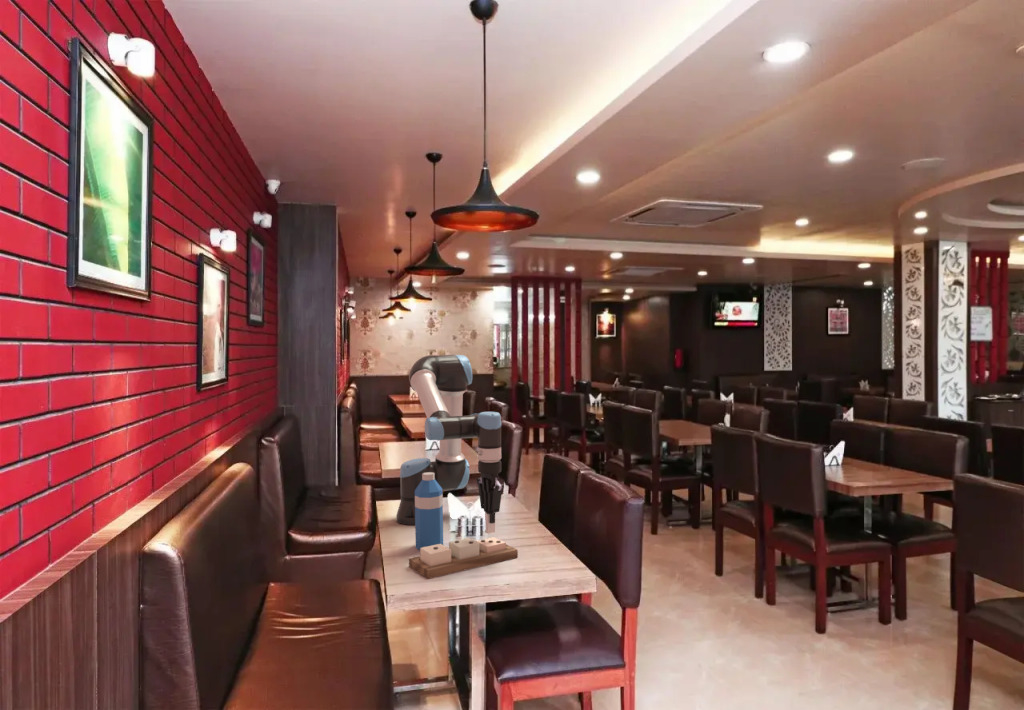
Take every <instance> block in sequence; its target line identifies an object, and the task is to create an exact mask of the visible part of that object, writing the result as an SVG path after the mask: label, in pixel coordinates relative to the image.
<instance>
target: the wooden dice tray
mask: <svg viewBox="0 0 1024 710" xmlns="http://www.w3.org/2000/svg"><path fill="white" fill-rule="evenodd" d="M518 557H519V555H518V549H517V548H514V547H513V546H511V545H508V544H506V549H505V550H500V551H496V552H492V553H485V552H483V551H481V550H479V556H474V557H470V558H466V559H461V560H459V559H457V558H455V557H453V556H451V562H448V563H444V564H440V565H435V566H431V567H430V566H428V565H427V564H425V563H423V562H422V561H421V559H420V555H419V556H414V557H409V558H408V567H409V568H411V569H412V570H413V571H415V572H416V573H418V574H420V575H421V576H423V577H425V578H426V579H428V580H429V579H434V578H438V577H442V576H446V575H450V574H454V573H459V572H463V571H465V570H466V571H467V570H470V569H475V568H478V567H479V568H480V567H484V566H488V565H492V564H495V563H500V562H504V561H507V560H508V561H509V560H512V559H515V558H518ZM483 565H484V566H483Z"/></svg>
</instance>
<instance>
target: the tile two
mask: <svg viewBox="0 0 1024 710" xmlns="http://www.w3.org/2000/svg"><path fill="white" fill-rule="evenodd" d="M448 548H449V549H451V556H453V557H455V558H457V559H459V560H461V559H466V558H470V557H474V556H479V543H477V542H476V540H473V539H472V538H470V537H466V538H461V539H456V540H451V541H448Z"/></svg>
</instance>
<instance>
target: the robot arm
mask: <svg viewBox="0 0 1024 710" xmlns="http://www.w3.org/2000/svg"><path fill="white" fill-rule="evenodd" d="M408 380H409V384H410V386H411V388H412V390H414V391H415V392H416V394H417V397H418V399H419V402H420V405H421V407H422V408H423V410H424V413H425V416H426V419H425V420H424V421H425V422H424V433H425V434H424V435H425V438H426V439H427V440H429V441H439V448H438V449H439V452H438V453H436V455H435V460H434V461H431V459H429V458H428V457H419V458H413V459H409V460H406V461H405V462H402V464H401V466H400V469H399V471H400V472H399V478H400V479H399V480H400V502H399V506H398V507H397V508H398V509H397V512H396V515H395V516H396V523H399V524H401V525H409V526H415V489H416V488H417V487H418V485H419V484H420V482H421V481H422V474H423V473H427V472H432V473H435V480H436V481H437V483H438V484H439V485H440V486H441V488H442V492H443V491H444V492H445V491H455V490H460V489H461V490H462V489H464V488H465V487H466V486H467V485H468V482H469V479H470V472H471V471H470V463H469V460H467V459H466V456H465V455H464V453H463V452H462V439H473V438H474V439H475V438H477V457H478V458H477V459H478V462H477V471H478V473H479V474H480V477H478V478H476V483H477V487H478V494H479V495H478V496H479V501H480V508H481V509H483V512H484V520H485V521H484V523H485V525H484V526H485V527H484V528H485V529H484V530H485V533H486V534H491V533H495V532H496V524H495V523H496V513H499V512H500V510H501V509H500V508H501V502H502V496H503V495H502V494H503V490H504V488H505V486H504V484H503V483H502V484H501V483H500V477H499V473H501V472H502V461H501V459H502V419H501V418H502V417H501V414H500V412H498V411H497V412H496V411H482V412H479V413H471V414H469V415H463V401H464V399H463V398H464V396H463V395H464V393H466V392H467V390H468V386H469V385H471V384H472V383H473V368H472V364H471V362H470V360H469V358H468V357H467V356H466V355H464V354H442V355H441V354H440V355H439V354H438V355H437V354H436V355H433V354H430V355H426V356H422V357H420V358H419V359H418V360H416V361H415V363H413V365H412V366H411V369H410V370H409V374H408Z"/></svg>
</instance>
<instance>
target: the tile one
mask: <svg viewBox="0 0 1024 710" xmlns="http://www.w3.org/2000/svg"><path fill="white" fill-rule="evenodd" d="M419 551H420V553H419V554H420V555H419V556H420V559H421V561H422V562H423V563H425V564H427V565H428V566H430V567H431V566H435V565H440V564H444V563H448V562H451V549H449V546H448V547H447V546H445V545H444V544H443V545H442V544H437V545H432V546H427V547H422V548H420V550H419Z"/></svg>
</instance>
